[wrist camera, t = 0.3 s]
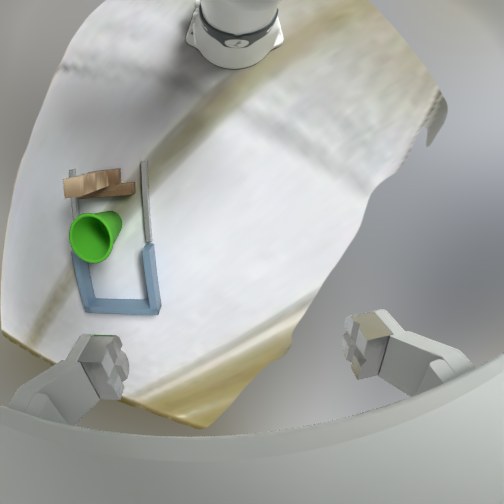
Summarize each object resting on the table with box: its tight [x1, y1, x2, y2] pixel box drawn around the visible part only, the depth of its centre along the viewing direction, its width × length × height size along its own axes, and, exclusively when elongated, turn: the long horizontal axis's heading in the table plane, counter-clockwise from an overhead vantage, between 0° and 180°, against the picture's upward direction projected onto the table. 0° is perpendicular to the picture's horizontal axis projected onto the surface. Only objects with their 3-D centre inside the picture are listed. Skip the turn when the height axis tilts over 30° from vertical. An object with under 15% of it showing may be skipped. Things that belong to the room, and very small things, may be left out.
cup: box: [69, 211, 122, 263], centre depth 48 cm, size 9×9×11 cm
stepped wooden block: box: [63, 169, 135, 199], centre depth 43 cm, size 5×12×15 cm, turn 89°
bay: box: [71, 244, 161, 315], centre depth 55 cm, size 14×18×4 cm
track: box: [69, 161, 152, 242], centre depth 51 cm, size 16×18×1 cm
